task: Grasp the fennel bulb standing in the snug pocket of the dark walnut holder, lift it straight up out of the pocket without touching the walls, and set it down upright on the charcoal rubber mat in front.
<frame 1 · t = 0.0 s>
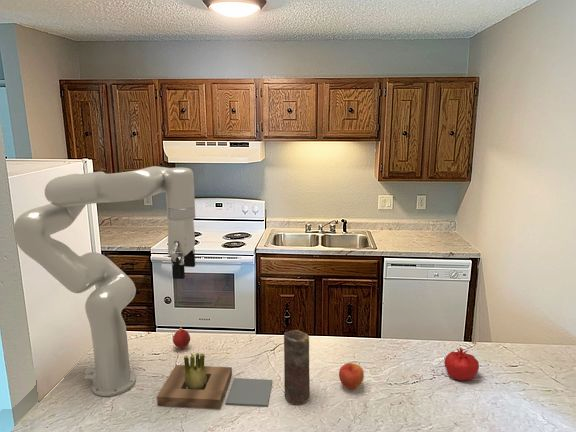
hand: (184, 272, 120), 37 cm above the countertop, tool pointing down, fingers open, 9 cm apart
red ovoid: (182, 349, 150), on the countertop
mat: (249, 392, 125), on the countertop
apple: (350, 387, 128), on the countertop
pocket holder: (196, 390, 126), on the countertop
fennel bulb: (196, 390, 126), resting in pocket holder
pomegranate: (460, 375, 134), on the countertop
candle: (296, 397, 123), on the countertop
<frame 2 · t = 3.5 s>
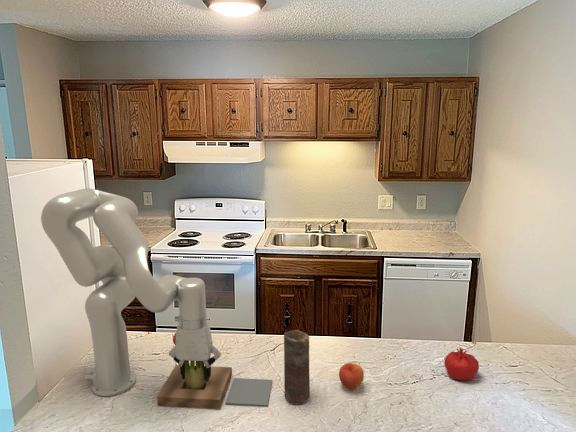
hand: (196, 376, 125), 5 cm above the countertop, tool pointing down, fingers closed on fennel bulb, 6 cm apart
fennel bulb: (197, 390, 126), resting in pocket holder, touching gripper
everything else where it was.
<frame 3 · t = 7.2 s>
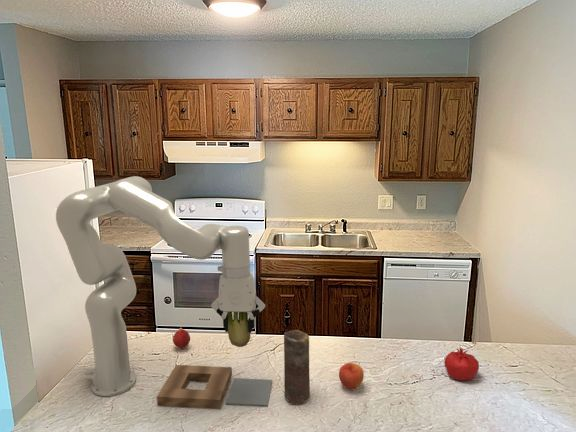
hand: (239, 329, 121), 20 cm above the countertop, tool pointing down, fingers closed on fennel bulb, 6 cm apart
fennel bulb: (240, 345, 122), point 15 cm above the countertop, touching gripper
everything else where it was.
when the fingers open (6 cm above the countertop, at t = 10.9 s): fennel bulb stays where it is, resting on mat.
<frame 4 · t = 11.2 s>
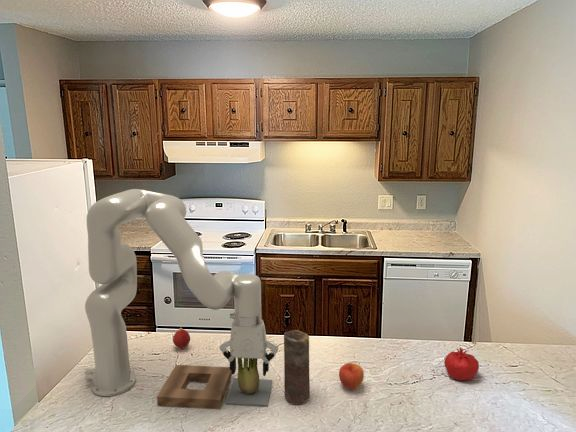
hand: (249, 372, 124), 7 cm above the countertop, tool pointing down, fingers open, 8 cm apart
fennel bulb: (249, 391, 125), resting on mat
everything else where it was.
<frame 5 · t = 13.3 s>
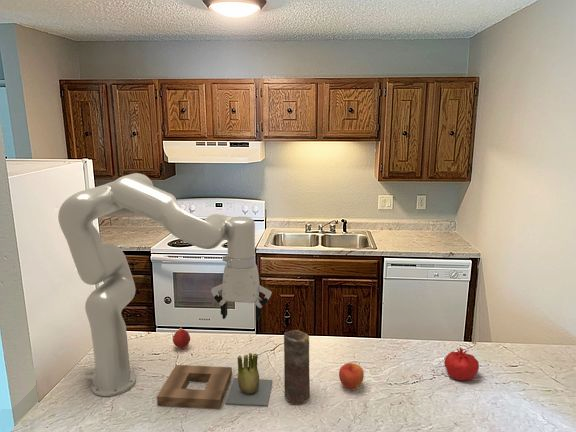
hand: (241, 317, 122), 23 cm above the countertop, tool pointing down, fingers open, 9 cm apart
nothing on the countertop moved.
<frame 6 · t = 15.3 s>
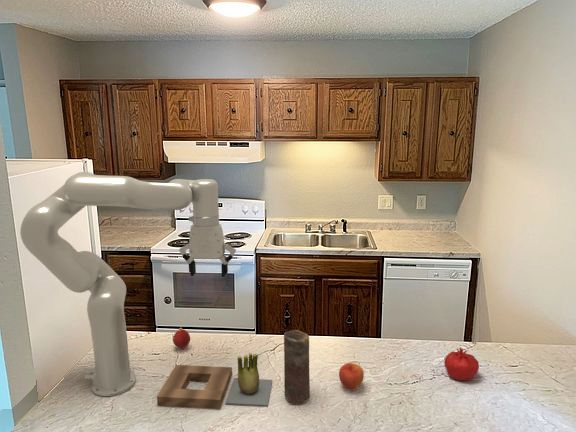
hand: (208, 275, 130), 32 cm above the countertop, tool pointing down, fingers open, 9 cm apart
nothing on the countertop moved.
at the end: fennel bulb inside the target area on the mat (0.2 cm from its centre), point 0.4 cm above the mat's base; fennel bulb tilted 0°; the gripper is holding nothing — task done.
